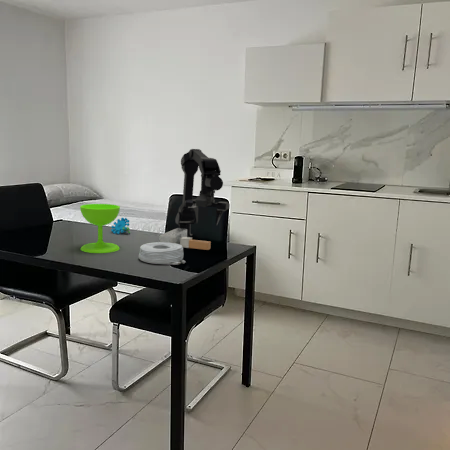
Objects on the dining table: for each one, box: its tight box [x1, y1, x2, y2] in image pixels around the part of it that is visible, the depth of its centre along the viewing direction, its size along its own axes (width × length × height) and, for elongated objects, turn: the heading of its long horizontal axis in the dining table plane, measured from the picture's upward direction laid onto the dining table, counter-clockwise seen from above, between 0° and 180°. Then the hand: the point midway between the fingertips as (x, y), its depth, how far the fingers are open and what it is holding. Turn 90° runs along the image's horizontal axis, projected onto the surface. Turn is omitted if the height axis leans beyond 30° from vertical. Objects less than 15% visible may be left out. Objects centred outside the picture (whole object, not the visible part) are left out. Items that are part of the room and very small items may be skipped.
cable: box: [138, 241, 187, 266], centre depth 177 cm, size 18×18×6 cm
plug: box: [180, 236, 212, 251], centre depth 201 cm, size 4×13×4 cm, turn 73°
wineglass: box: [79, 203, 121, 254], centre depth 189 cm, size 16×16×18 cm
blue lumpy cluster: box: [111, 217, 131, 235], centre depth 225 cm, size 11×6×10 cm
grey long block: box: [158, 227, 187, 244], centre depth 203 cm, size 20×5×6 cm, turn 163°
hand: (206, 224), depth 196 cm, fingers open, 9 cm apart
